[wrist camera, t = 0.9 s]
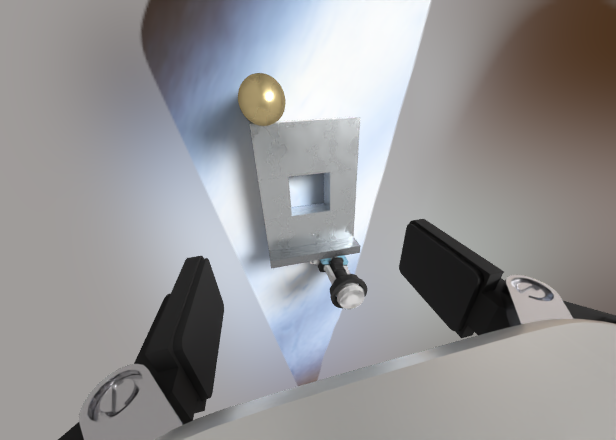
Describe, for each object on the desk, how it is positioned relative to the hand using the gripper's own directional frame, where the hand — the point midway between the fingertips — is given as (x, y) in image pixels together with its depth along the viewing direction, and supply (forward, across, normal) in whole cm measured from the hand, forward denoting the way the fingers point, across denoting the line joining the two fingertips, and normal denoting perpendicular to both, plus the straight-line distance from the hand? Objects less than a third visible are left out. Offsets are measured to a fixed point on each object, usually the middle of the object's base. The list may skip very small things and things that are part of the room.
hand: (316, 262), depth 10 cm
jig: (+22, -4, +4) cm, 22 cm away
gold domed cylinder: (+22, +1, -7) cm, 23 cm away
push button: (+22, -7, +17) cm, 29 cm away
